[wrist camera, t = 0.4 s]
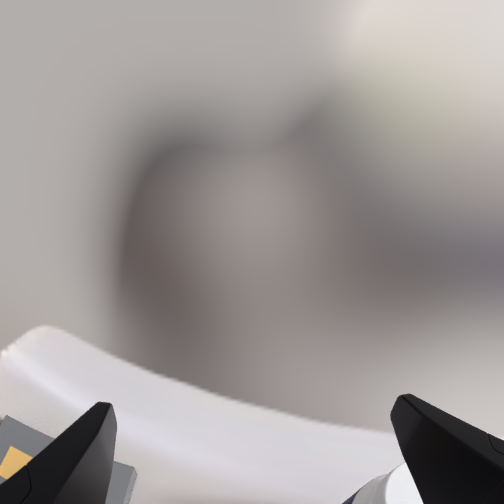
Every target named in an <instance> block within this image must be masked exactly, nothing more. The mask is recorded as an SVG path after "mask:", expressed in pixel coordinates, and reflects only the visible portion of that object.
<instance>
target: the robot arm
mask: <svg viewBox="0 0 504 504" xmlns="http://www.w3.org/2000/svg"><path fill="white" fill-rule="evenodd" d="M390 416H391V421H392V424H393V427H394V430H395V434H396V437H397V440H398V443H399V446H400V449H401V452H402V455H403V457H404V460H405V462H406V464H407V466H408V469H409V471H410V473H411V476H412V478H413V480H414V483H415V485H416V487H417V490H418V492H419V494H420V497H421V499H422V502H423V504H504V440H501V439H499V438H497V437H495V436H493V435H491V434H487V433H486V432H484V431H482V430H480V429H478V428H476V427H474V426H472V425H470V424H468V423H466V422H464V421H462V420H460V419H458V418H456V417H454V416H452V415H450V414H448V413H446V412H444V411H442V410H440V409H438V408H437V407H435V406H432V405H430V404H429V403H427V402H425V401H423V400H421V399H419V398H417V397H416V396H414V395H412V394H403V395H400V396H399V397H398V398H397V400H396V402H395V404H394V406H393V409H392V411H391V414H390ZM116 432H117V421H116V417H115V413H114V409H113V406H112V404H111V403H107V402H97V403H96V404H95V405H94V406H92V407H91V408H90V409H89V410H88V411H87V412H86V413H84V414H83V415H82V416H81V417H80V418H79V419H78V420H76V421H75V422H74V423H73V424H72V425H71V426H69V427H68V428H67V429H66V430H65V431H64V432H63V433H61V434H60V435H59V436H58V437H57V438H56V439H54V440H53V441H52V442H51V443H50V444H49V445H48V446H46V447H45V448H44V449H43V450H42V451H41V452H39V453H38V454H37V455H36V456H35V457H34V458H32V459H31V460H30V461H29V462H28V463H27V465H24V466H23V467H22V468H21V469H19V470H18V471H17V472H16V473H14V474H13V475H12V476H11V477H9V478H8V479H7V480H6V481H4V482H3V483H1V484H0V504H105V502H106V498H107V493H108V488H109V484H110V479H111V474H112V469H113V459H114V449H115V441H116Z"/></svg>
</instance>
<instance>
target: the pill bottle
mask: <svg viewBox="0 0 504 504" xmlns="http://www.w3.org/2000/svg"><path fill="white" fill-rule="evenodd" d="M342 504H423V502H422V499H421V497H420V494H419V492H418V490H417V487H416V485H415V483H414V480H413V478H412V476H411V473H410V471H409V469H408V466H407V464H406V462H404V463H402V464H400V465H399V466H397V467H396V468H395V469H394V470H392V471H391V472H390V473H389V474H385V475H382V476H379V477H377V478H375V479H373V480H371V481H370V482H368V483H367V484H365V485H364V486H363V487H362V488H361V489H359V490H358V491H357V492H356V493H355V494H354V495H352V496H351V497H350V498H349V499H347V500H346V501H345V502H344V503H342Z"/></svg>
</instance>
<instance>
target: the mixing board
mask: <svg viewBox="0 0 504 504" xmlns="http://www.w3.org/2000/svg"><path fill="white" fill-rule="evenodd" d="M53 440H54V438H52V437H50V436H47V435H45V434H43V433H41V432H39V431H37V430H35V429H33V428H31V427H29V426H27V425H25V424H23V423H21V422H19V421H17V420H15V419H13V418H11V417H9V416H8V415H6V416H5V418H4V419H3V421H2V423H1V424H0V484H1V483H3V482H4V481H6V480H7V479H8V478H9V477H11V476H12V475H13V474H14V473H16V472H17V471H18V470H19V469H21V468H22V467H23V466H24V465H27V463H28V462H29V461H30V460H31V459H32V458H34V457H35V456H36V455H37V454H38V453H39V452H41V451H42V450H43V449H44V448H45V447H46V446H48V445H49V444H50V443H51V442H52V441H53ZM136 477H137V473H136V470H135V468H134V467H132V466H128V465H125V464H122V463H118V462H115V461H113V469H112V474H111V479H110V484H109V488H108V493H107V498H106V502H105V504H129V501H130V497H131V494H132V490H133V487H134V483H135V480H136Z"/></svg>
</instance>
